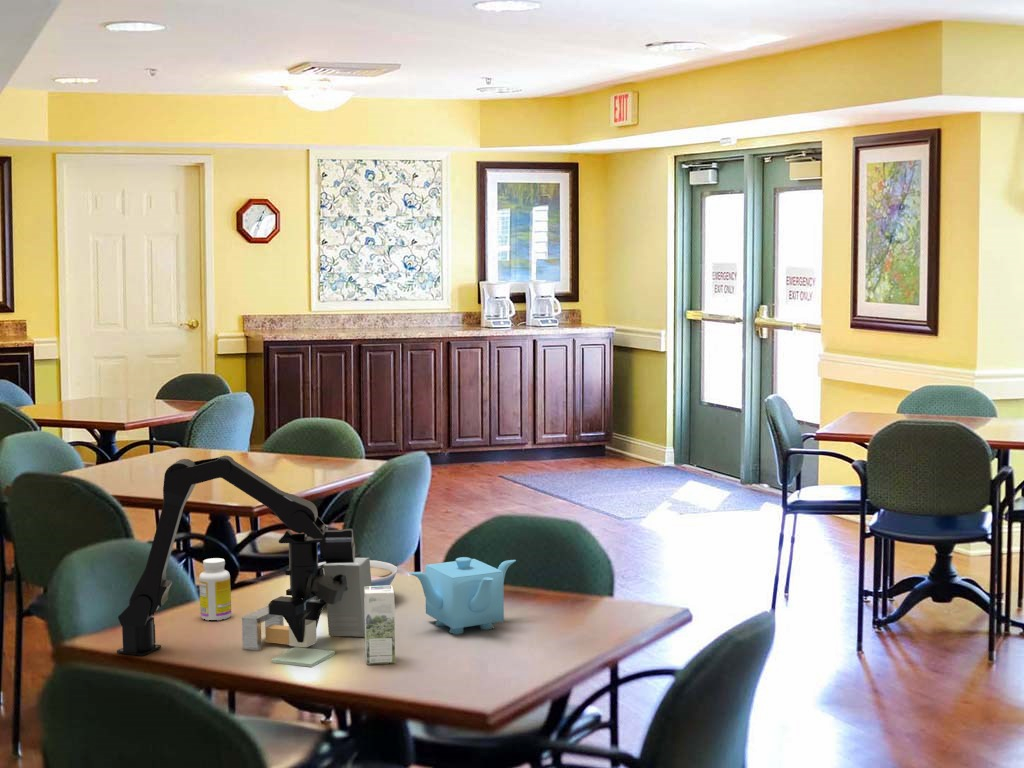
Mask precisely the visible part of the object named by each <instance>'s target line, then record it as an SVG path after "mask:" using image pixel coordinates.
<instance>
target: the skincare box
mask: <svg viewBox="0 0 1024 768" xmlns="http://www.w3.org/2000/svg"><path fill="white" fill-rule="evenodd" d="M370 560H371V559H370V557H357V558H355V561H354V563H326V564H324V576H327V577H330V576H331V577H332V579H333V578H334V577H335V576H336V575H338V574H340V573H341V574H343V575H345V576H346V581H347V588H348V590H347V591H345V592H344V593H343V596H342V600H341V601H337V602H336V603H335V604H327V605H326V614H327V629H328V636H329V635H330V636H331V637H332V636H333V637H357V638H358V637H359V638H361V637H362V638H365V615H364V587H365V586H372V585H371V572H370Z"/></svg>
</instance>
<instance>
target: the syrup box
mask: <svg viewBox="0 0 1024 768" xmlns="http://www.w3.org/2000/svg"><path fill="white" fill-rule="evenodd" d="M395 607H396V606H395V591H394V588H393V585H391V584H390V585H386V586H365V587H364V615H365V636H364V655H365V656H364V657H365V662H366V665H385V664H386V665H387V664H388V665H389V663H390V664H395V663H396V631H395V630H396V628H395V627H396V622H395V620H396V619H395V618H396V617H395V614H396V613H395V612H396V611H395V609H396V608H395Z"/></svg>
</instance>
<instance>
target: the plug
mask: <svg viewBox="0 0 1024 768" xmlns="http://www.w3.org/2000/svg"><path fill="white" fill-rule="evenodd" d="M264 631H265V633H266V635H265V642H266V643H271V644H280V645H289V647H300V648H309V647H310V646H312V645H314V644H316V643H317V640H318V639H317V628H316V621H315V620H305V631H304V641H303V642H302V643H301V642H298V641H297V639H296V638H295V636H294V634H293V632H292V630H291V628H290V626H289V625H284V626H282V625H270V626H268V627H266V628H265V629H264Z"/></svg>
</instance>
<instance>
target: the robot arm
mask: <svg viewBox="0 0 1024 768" xmlns="http://www.w3.org/2000/svg"><path fill="white" fill-rule="evenodd" d="M216 479H223V480H224V481H226V482H228V483H229V484H231V485H232V486H234V487H235V488H237V489H239V490H241V492H243V493H244V494H246V495H248V496H250V497H251V498H253V499H254V500H256V501H258V502H259V503H260V504H261V505H264V506H265V507H267V508H268V509H270V510H271V511H272V512H273V514H275V516H276V517H277V518H278V520H279V521H281V522H282V523H283V524H284V525H285V526H286V527H287V528H288V529H286V531H285V532H284V534H283V535H281V537H280V538H279V540H278V544H288V559H289V560H288V561H289V562H288V563H289V564H288V565H289V566H288V567H289V568H287V569H286V570H285V569H284V570H285V573H284V574H285V576H289V588H288V589H286V590H285V595H286V596H284V595H281V596H278V597H276V598H274V599H272V600H271V601H270V602H269V603H268V605H267V606H268V612H269V614H271V615H281V616H283V619H284V620H285V621H286V623H287V626H290V628H291V630H292V632H293V634H294V636H295V638H296V639H297V641H298V642H301V643H302V642H303V641H304V631H305V620H315V621H316V629H317V628H318V623H319V621H320V616H321V614H322V611H323V609H325V607H327V604H335V603H336V602H337V601H341V600H342V596H343V593H344V592H345V591H347V590H348V588H347V581H346V576H345V575H343V574H341V573H340V574H338V575H336V576H335V577H334V578H333V579H332V577H331V576H330V577H327V576H324V570H323V569H322V567H318V563H319V555H320V559H322V561H325V562H326V563H354V561H355V555H356V544H355V539H354V530H353V528H344V529H343V528H342V529H329V528H328V526H327V524H325V523H324V521H323V520H322V519H321V517H319V515H318V514H319V512H318V508H317V506H316V504H314V503H313V502H312V501H310V500H308V499H305V498H303V497H300V496H299V495H295V494H293V493H289V492H285V491H283V490H281V489H279V488H278V487H276V486H275V485H273V484H272V483H270V482H268V481H267V480H266V479H264V478H262V477H261V476H259V475H257V474H256V473H254V472H253V471H251V470H250V469H248V468H246V467H245V466H244V465H242V464H241V463H239V462H237V461H236V460H235V459H234V458H233V457H232V456H231V455H230V456H229V455H222V456H221V455H220V456H219V457H214V458H212V457H211V458H206V459H199V460H191V459H188V458H182V459H179V460H176V462H174V463H173V464H171V465H169V467H167V469H166V470H165V472H164V478H163V488H162V495H163V496H162V497H163V498H162V499H163V500H162V501H163V505H162V508H161V512H160V514H159V515H160V516H159V519H158V523H157V525H156V530H155V533H154V537H153V540H152V543H151V548H150V551H149V554H148V559H147V562H146V566H145V569H144V571H143V572H142V574H141V576H140V578H139V580H138V582H137V583H136V585H135V587H134V590H133V591H132V594H131V595H130V598H129V601H128V606H127V607H126V608H125V609H123V611H122V612H121V613H119V615H118V617H117V620H118V621H119V624H120V625H121V631H122V633H121V634H122V647H121V648H119V649H116V653H117V654H123V655H134V656H145V655H148V654H150V653H152V652H154V651H157V650H159V649H161V648H162V644H156V625H155V617H153V616H154V615H156V612H157V611H158V609H159V608H161V607H163V606H164V604H165V603H166V602H167V601H168V599H169V590H170V588H171V586H172V584H173V580H172V579H171V580H170V579H167V568H168V565H169V562H170V557H171V555H172V554H171V553H172V550H173V548H174V547H173V546H174V545H175V544H174V543H175V539H176V537H177V533H178V529H179V525H180V523H181V522H180V521H181V519H182V515H183V510H184V508H185V505H186V503H187V502H188V500H189V498H190V497H191V494H192V492H193V491H194V488H195V486H196V485H198V484H200V483H201V484H202V483H204V482H208V481H212V480H216ZM291 531H292V532H291ZM293 532H294V533H293ZM318 543H319V550H318ZM318 551H319V552H318ZM318 553H319V555H318Z"/></svg>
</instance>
